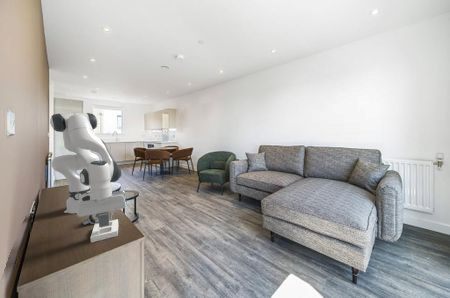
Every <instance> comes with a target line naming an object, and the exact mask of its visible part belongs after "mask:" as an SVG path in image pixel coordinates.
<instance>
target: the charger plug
mask: <svg viewBox="0 0 450 298" xmlns="http://www.w3.org/2000/svg"><path fill="white" fill-rule="evenodd" d="M109 212H110V211H108V212H103V213H99V216H98V219H99V227H103V226H108V225H109V221H110V220H109V218H108V216H109Z"/></svg>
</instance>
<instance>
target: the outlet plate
mask: <svg viewBox="0 0 450 298" xmlns="http://www.w3.org/2000/svg"><path fill="white" fill-rule="evenodd" d="M93 225H94V226H93V229H92V232H91V235H90V243H95V242H99V241H104V240H108V239H111V238H115V237H118V236H119V219H111V220H109V225H108V226H103V227H99V223H98V224H93Z"/></svg>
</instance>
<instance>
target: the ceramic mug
mask: <svg viewBox="0 0 450 298" xmlns="http://www.w3.org/2000/svg"><path fill="white" fill-rule="evenodd" d="M98 216H99V213H98V214H96V217H97V218H98ZM98 223H99V222H97V223H96V221H95V219H94V218H93V217H92V215H88V217H87V218H86V219H84V221H82V224H83V225H84V226H85V225H87V224H91V225H95V224H98Z"/></svg>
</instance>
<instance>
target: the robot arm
mask: <svg viewBox="0 0 450 298" xmlns="http://www.w3.org/2000/svg"><path fill="white" fill-rule="evenodd" d="M49 124H50V126H51V128H52V129H53V130H54V131H55V132H58V133H62V138H63V146H64V148H65V150H67V151H69V152H72V153H74V154H63V155H58V156H54V158H53V159H52V161H51V167H52V169H53V170H54V171H55V172H58V173H60V174H61V175H63V177H65V179H66V181H67V183H68V198H67V200H66V210H64V211H63V213H65V214H76V215H77V216H78V217H79V218H83V217H87V216H89V215H92V217H93V218H94V219H95V221H96V223H97V222H99V219H98V218H97V217H96V214H98V213H103V212H110V213H111V214H110V215H109V216H108V218H109V221H112V220H113V215H114V213H115V211H117V210H123V209H124V210H125V208H126V207H127V205H126V197H127V194H126V192H125V191H124V190H118V191H117V190H116V191H115V190H114V191H113V188H112V187H113V186H112V184H111V183H116V182H117V181H119V180H120V178H121V176H122V170H121V169H122V168H121V167H120V166H119V165H118V163H117V161H116V160H115V159H114V157H113V155H112V153H111V151H110V149H109V148H108V146H107V144H106V142H105V141H104V140H102V139H100V138H99V137H98V136H97V135H96V134H95V132H94V130H95V129H96V128H97V127H98V119H97V117H96V115H95V114H93V113H89V112H86V113H85V112H67V113H54V114H52V115H51V116H50V120H49ZM93 152H94V153H93ZM96 153H97V154H98V155H99V156H100V157H99V156H98V155H97V154H96ZM100 158H101V159H102V160H100ZM77 171H80V173H78V172H77Z"/></svg>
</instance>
